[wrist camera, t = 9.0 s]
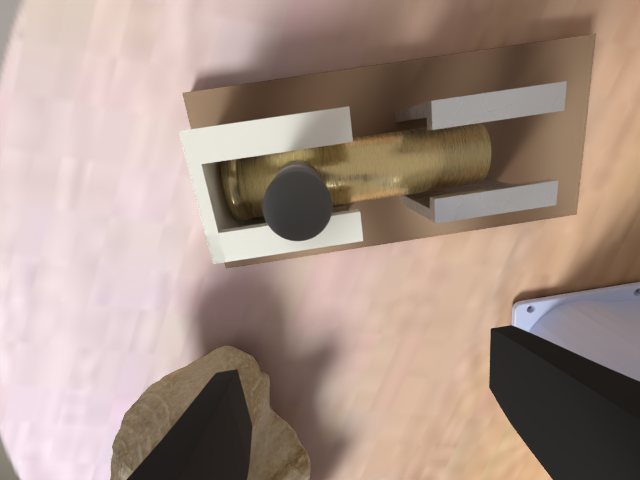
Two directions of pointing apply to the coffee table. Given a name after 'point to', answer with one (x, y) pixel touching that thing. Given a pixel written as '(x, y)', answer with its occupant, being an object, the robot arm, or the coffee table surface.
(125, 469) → the sculpture
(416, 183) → the brass bolt
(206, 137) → the socket block
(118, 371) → the coffee table surface
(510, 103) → the guide board
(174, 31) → the coffee table surface
